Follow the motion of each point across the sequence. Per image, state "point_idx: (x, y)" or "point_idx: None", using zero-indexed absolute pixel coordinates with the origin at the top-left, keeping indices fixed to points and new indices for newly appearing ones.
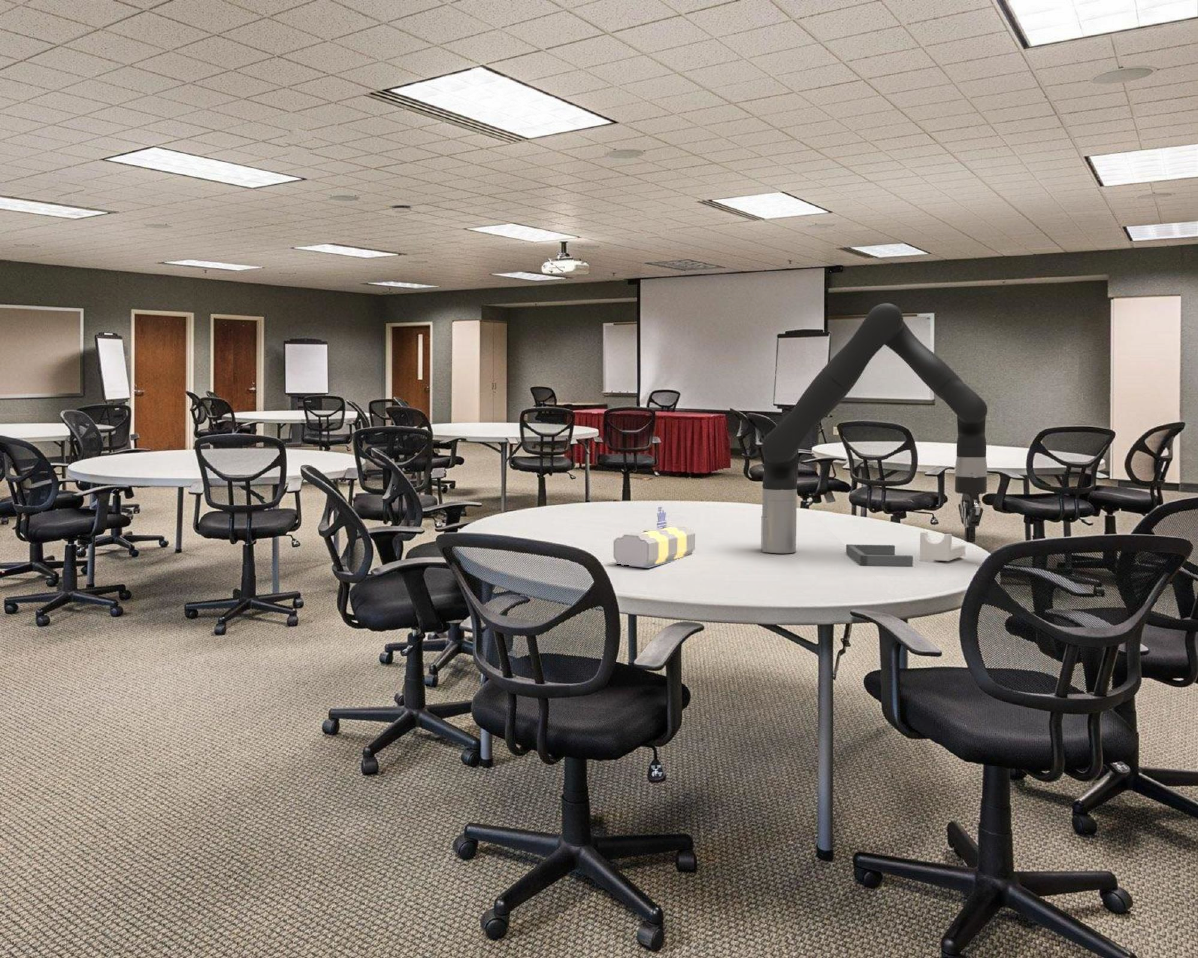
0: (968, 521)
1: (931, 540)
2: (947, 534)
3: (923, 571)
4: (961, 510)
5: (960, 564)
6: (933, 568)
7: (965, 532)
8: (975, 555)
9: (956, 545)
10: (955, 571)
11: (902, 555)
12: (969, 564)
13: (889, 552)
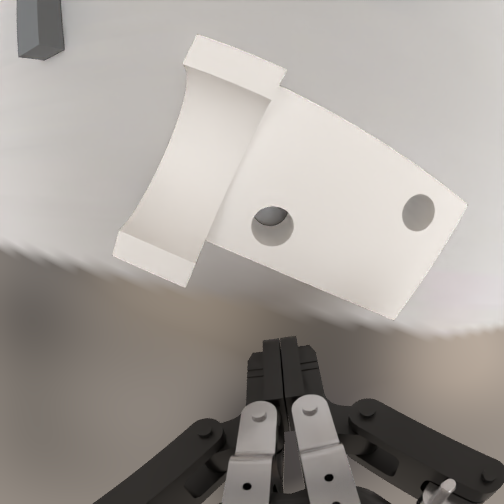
0: (204, 445)
1: (252, 130)
2: (135, 253)
3: None
4: (432, 471)
5: None
6: (25, 141)
7: (283, 373)
8: (432, 325)
9: (393, 282)
10: (3, 216)
11: (34, 12)
12: None
13: None
